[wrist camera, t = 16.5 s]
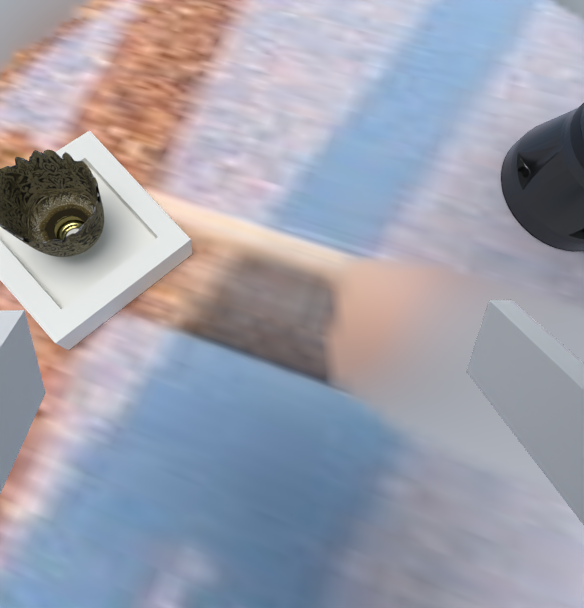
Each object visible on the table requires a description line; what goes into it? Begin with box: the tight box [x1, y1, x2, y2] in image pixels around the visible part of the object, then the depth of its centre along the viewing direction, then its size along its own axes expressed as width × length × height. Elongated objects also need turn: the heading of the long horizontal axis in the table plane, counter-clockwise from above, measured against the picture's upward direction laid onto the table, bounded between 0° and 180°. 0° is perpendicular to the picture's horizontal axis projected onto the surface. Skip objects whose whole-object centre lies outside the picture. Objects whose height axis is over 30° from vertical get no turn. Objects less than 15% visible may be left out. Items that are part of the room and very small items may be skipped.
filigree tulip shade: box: [0, 150, 104, 257], centre depth 38 cm, size 8×7×8 cm
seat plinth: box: [0, 131, 193, 350], centre depth 42 cm, size 14×14×4 cm
